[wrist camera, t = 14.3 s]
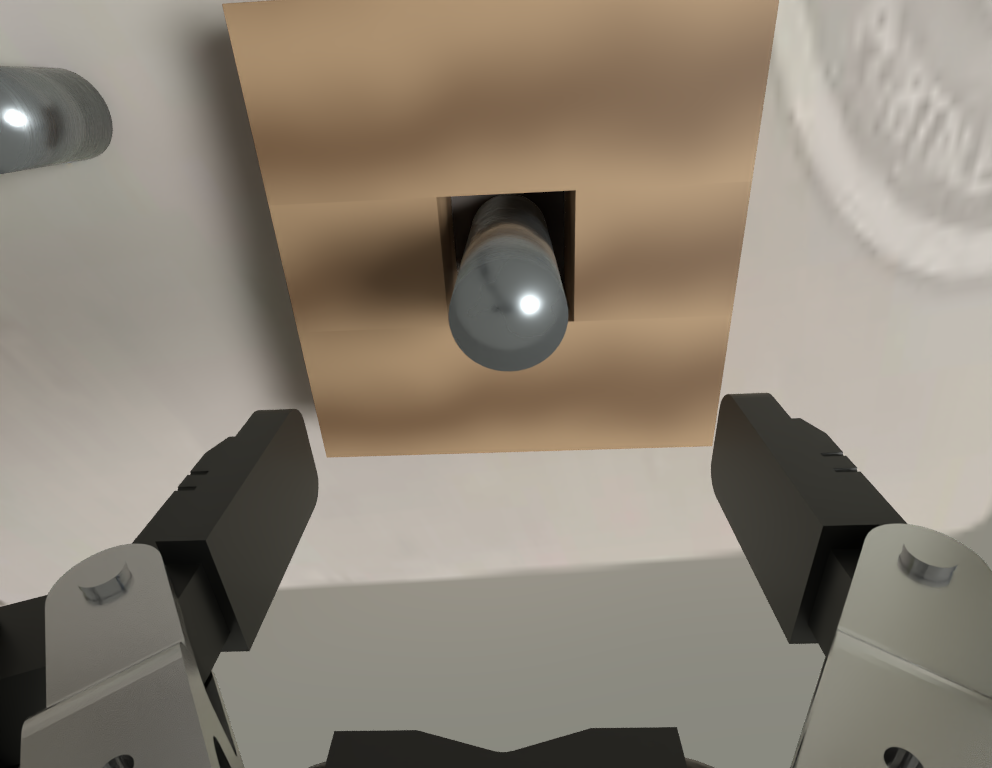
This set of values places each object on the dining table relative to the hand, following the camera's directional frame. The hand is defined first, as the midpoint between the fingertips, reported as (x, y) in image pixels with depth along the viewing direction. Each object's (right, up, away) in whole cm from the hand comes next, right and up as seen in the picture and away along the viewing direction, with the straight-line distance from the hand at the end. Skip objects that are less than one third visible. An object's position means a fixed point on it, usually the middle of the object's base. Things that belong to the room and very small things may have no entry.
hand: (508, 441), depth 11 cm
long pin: (0, +8, +16) cm, 18 cm away
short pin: (-19, +13, +14) cm, 27 cm away
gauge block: (0, +8, +16) cm, 18 cm away
